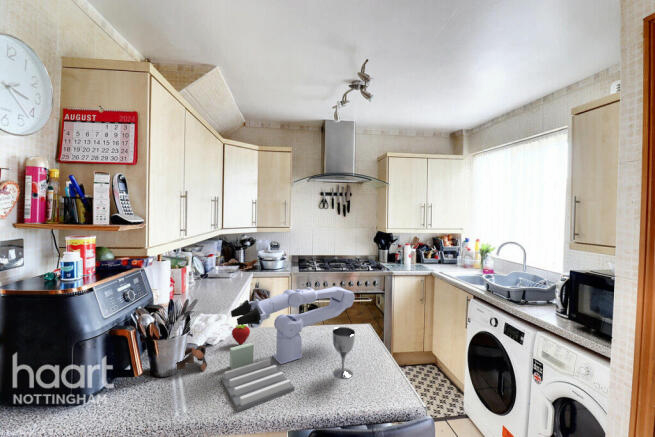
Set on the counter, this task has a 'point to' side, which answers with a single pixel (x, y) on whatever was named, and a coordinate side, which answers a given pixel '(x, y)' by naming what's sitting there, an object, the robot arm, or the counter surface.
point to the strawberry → (240, 333)
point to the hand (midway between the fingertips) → (234, 317)
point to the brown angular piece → (197, 352)
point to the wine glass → (343, 349)
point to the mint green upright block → (241, 355)
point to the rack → (255, 384)
